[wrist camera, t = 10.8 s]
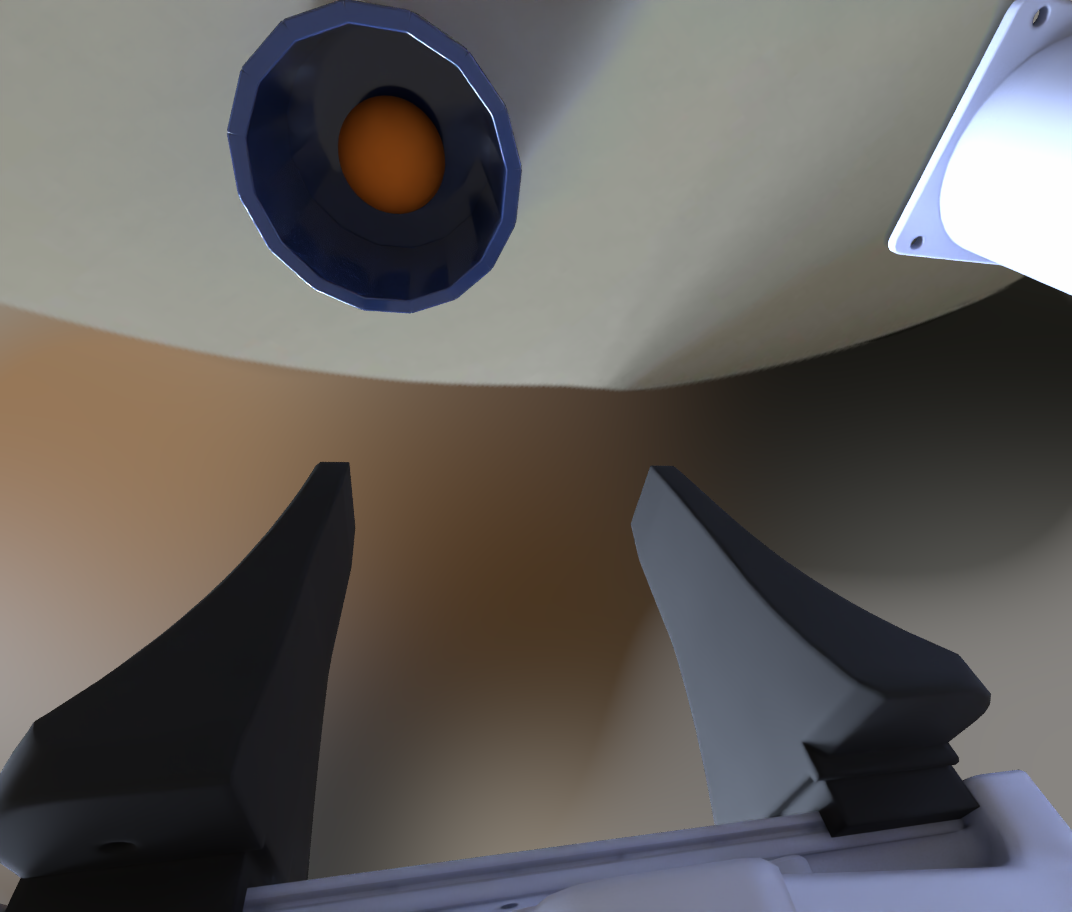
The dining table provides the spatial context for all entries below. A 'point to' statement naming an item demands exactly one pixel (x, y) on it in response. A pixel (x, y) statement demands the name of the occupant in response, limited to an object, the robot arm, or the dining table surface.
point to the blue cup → (315, 173)
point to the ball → (391, 154)
